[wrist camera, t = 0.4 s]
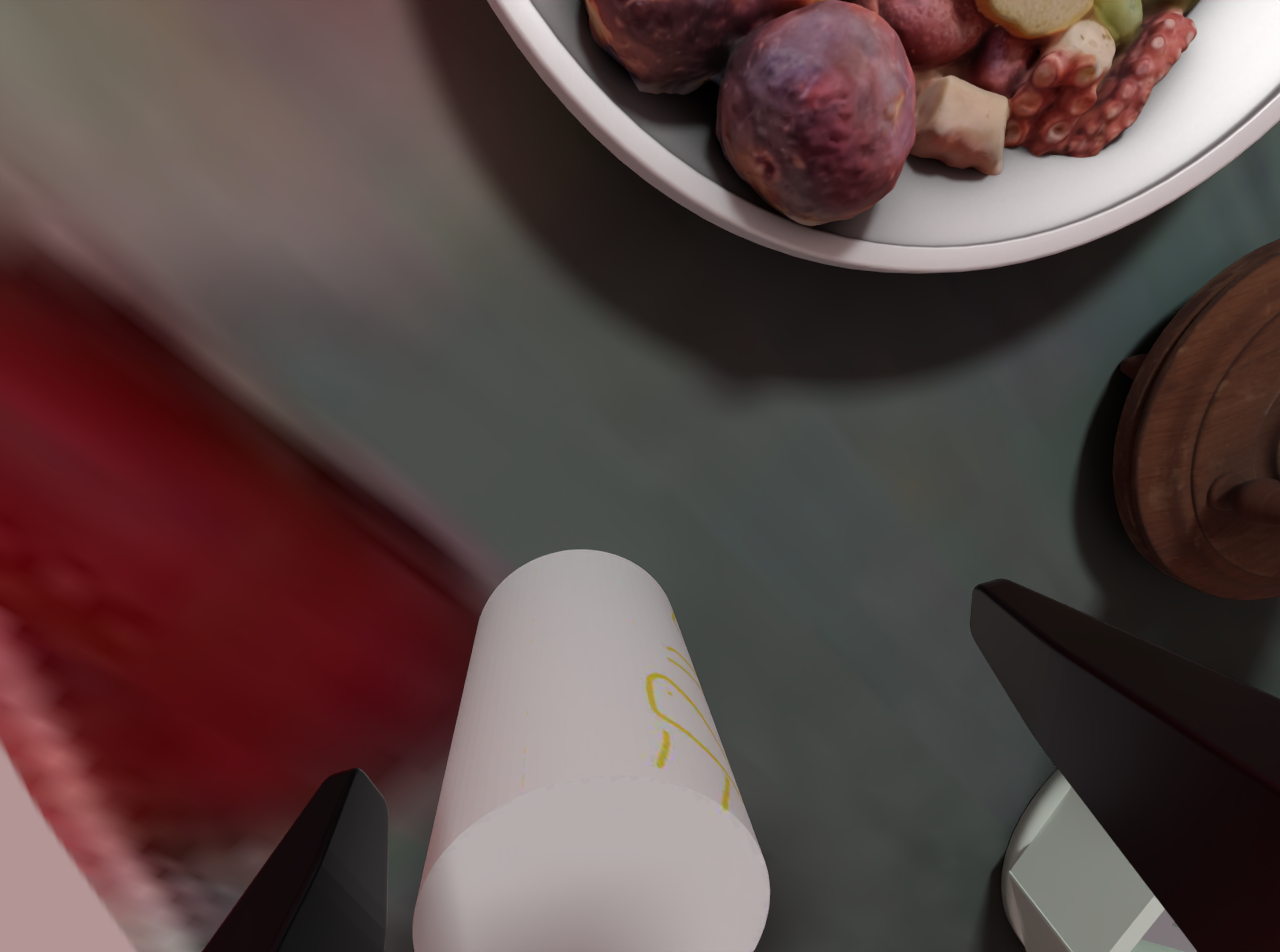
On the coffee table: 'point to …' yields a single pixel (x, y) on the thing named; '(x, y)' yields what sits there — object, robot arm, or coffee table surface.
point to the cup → (587, 781)
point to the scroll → (1209, 437)
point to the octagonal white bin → (1078, 884)
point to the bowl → (913, 114)
